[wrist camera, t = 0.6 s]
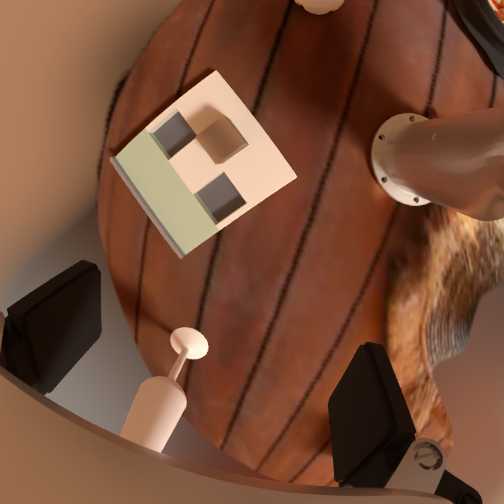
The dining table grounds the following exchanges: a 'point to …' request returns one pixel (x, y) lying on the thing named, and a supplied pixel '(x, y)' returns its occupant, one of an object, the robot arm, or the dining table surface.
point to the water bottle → (320, 5)
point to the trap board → (199, 167)
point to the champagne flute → (162, 396)
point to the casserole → (486, 27)
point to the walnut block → (221, 140)
